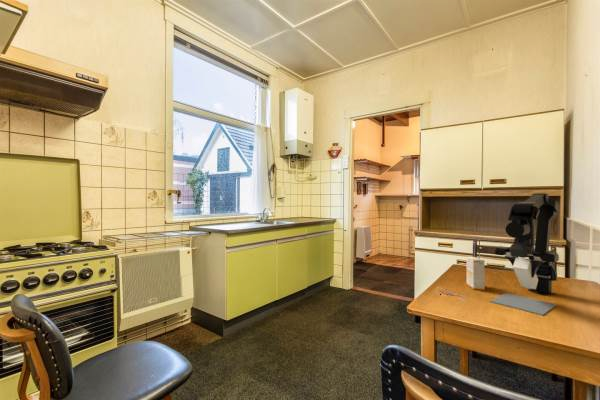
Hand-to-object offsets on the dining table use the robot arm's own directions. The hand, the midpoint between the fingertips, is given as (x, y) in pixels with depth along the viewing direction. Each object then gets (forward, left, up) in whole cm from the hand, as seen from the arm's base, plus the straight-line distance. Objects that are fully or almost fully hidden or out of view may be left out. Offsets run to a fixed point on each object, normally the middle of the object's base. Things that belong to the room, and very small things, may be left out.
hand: (524, 276), depth 109 cm
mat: (+2, +1, -10) cm, 10 cm away
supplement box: (+4, -20, -10) cm, 23 cm away
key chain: (+22, -11, -11) cm, 27 cm away
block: (-5, -3, -4) cm, 7 cm away
